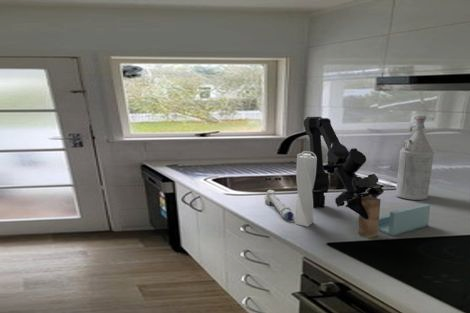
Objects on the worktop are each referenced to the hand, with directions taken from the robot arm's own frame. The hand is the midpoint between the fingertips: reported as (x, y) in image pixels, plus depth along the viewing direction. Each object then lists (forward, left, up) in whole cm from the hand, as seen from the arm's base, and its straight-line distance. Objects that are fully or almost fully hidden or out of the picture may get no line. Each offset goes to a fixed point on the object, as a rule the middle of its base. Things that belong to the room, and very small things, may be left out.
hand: (372, 217), depth 111 cm
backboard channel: (+13, +10, -7) cm, 18 cm away
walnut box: (-1, +1, -7) cm, 7 cm away
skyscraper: (-21, +10, -7) cm, 25 cm away
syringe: (-30, +25, -7) cm, 40 cm away
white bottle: (+36, +50, -7) cm, 62 cm away
